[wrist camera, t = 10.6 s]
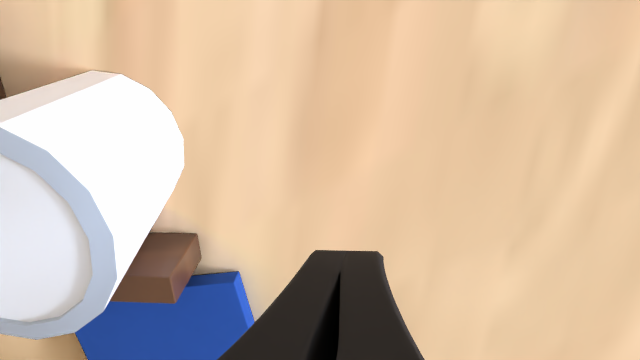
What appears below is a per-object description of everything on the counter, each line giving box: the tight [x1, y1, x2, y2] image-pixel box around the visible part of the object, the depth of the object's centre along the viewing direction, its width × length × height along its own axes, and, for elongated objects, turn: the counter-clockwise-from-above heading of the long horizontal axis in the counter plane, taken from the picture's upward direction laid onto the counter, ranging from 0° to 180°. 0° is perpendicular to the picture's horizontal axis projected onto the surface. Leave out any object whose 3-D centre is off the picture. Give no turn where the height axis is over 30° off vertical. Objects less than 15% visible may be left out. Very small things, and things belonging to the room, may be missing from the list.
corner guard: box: [0, 79, 201, 304], centre depth 20 cm, size 8×11×3 cm
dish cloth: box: [75, 271, 255, 360], centre depth 25 cm, size 8×7×1 cm
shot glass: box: [0, 71, 184, 340], centre depth 18 cm, size 7×7×7 cm
